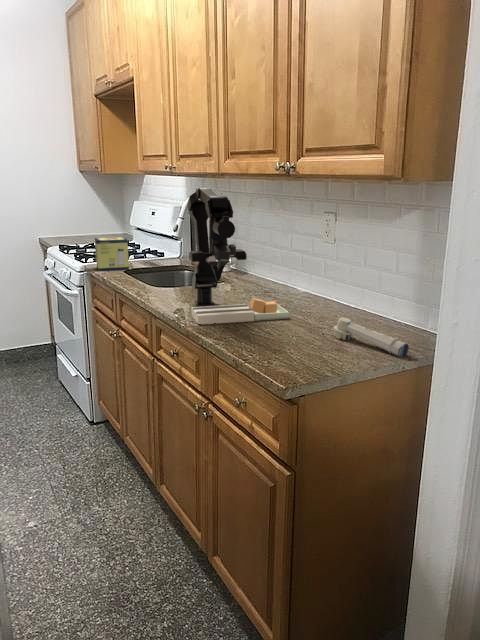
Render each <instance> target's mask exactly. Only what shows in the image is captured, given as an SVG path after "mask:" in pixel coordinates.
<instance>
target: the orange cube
mask: <svg viewBox="0 0 480 640" xmlns="http://www.w3.org/2000/svg"><path fill="white" fill-rule="evenodd" d="M265 302H266V303H265V307H264V310H263V314H264V313H277V304H278V303H277V302H275V301H273V300H272V301H265Z"/></svg>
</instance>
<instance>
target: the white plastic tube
mask: <svg viewBox="0 0 480 640" xmlns="http://www.w3.org/2000/svg"><path fill="white" fill-rule="evenodd" d="M333 331H334V332H333V336H334V337H335V338H336V339H338V340H340V339H341V340H343V341H348V340H352V336H356V337H358V338H360V339H362V340H364V341H365V342H368V343H370V344H372V345H374V346H376V347H378V348H380V349H382V350H385V351H386V352H388V353H389V354H390V355H392V354H393V355H395V356H397V357H399V356H400V358H402V356H403V357H406V356H407V355H408V353H409V350H410V346H409V344H408V343H405V342H403V341H401V340H400V339H399V338H397V337H396V338H394V337H392V336H388V335H386V334H384V333H381V332H379V331H375V330H373V329H370V328H367V327H365V326H362V325H359V324H357V323H354V322H352V320H351V319H350V318H349V317H339V318H338V320H337V323H336V325H334V326H333ZM391 353H392V354H391ZM405 355H406V356H405Z"/></svg>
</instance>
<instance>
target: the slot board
mask: <svg viewBox="0 0 480 640" xmlns="http://www.w3.org/2000/svg"><path fill="white" fill-rule="evenodd" d="M248 306H249V305H248V304H245V303H244V304H243V303H242V304H224V305H222V304H221V305H203V306H193V307H191V317H192V318H193V320H194V319H195V320H194V321H195V322H196V324H197V323H198V324H201V325H214V323H216V324H227V323H228V324H229V323H244V322H255V320H254V311H252V308H249V307H248ZM198 324H197V325H198Z"/></svg>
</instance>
